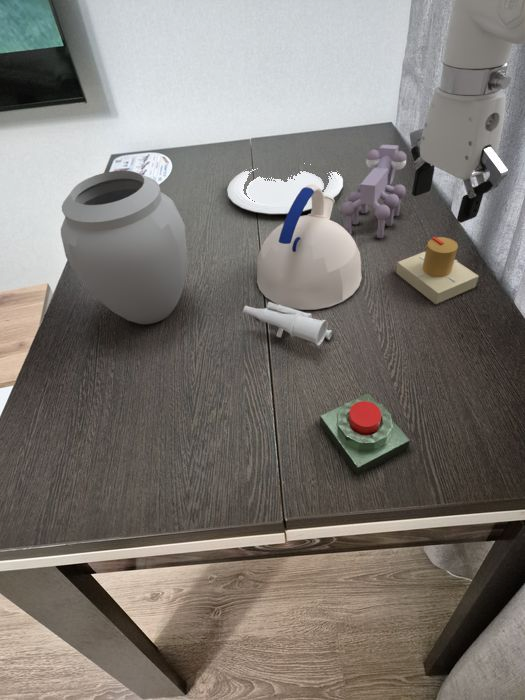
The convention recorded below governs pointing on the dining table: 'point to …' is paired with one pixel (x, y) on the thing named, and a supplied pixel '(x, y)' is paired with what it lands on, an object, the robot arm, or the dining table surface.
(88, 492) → the dining table surface
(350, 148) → the dining table surface
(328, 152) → the dining table surface
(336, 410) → the switch block
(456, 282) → the dimmer panel
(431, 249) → the dimmer knob
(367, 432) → the button
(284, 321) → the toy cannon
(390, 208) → the lavender toy animal
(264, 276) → the kettle
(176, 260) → the vase
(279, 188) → the plate
